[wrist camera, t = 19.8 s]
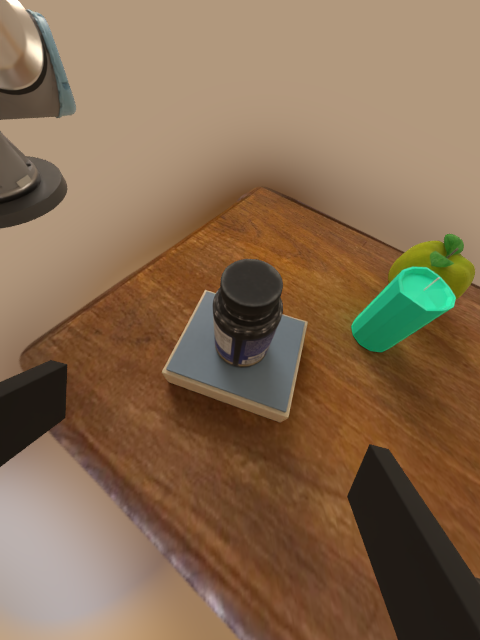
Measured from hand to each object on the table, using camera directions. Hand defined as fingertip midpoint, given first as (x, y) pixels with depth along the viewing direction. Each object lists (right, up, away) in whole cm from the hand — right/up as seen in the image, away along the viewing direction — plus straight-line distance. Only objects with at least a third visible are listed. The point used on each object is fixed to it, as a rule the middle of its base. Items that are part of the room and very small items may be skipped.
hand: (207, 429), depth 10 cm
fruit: (+28, +8, +28) cm, 40 cm away
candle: (+20, +3, +24) cm, 31 cm away
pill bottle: (+2, +2, +17) cm, 17 cm away
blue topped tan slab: (+1, 0, +20) cm, 20 cm away
